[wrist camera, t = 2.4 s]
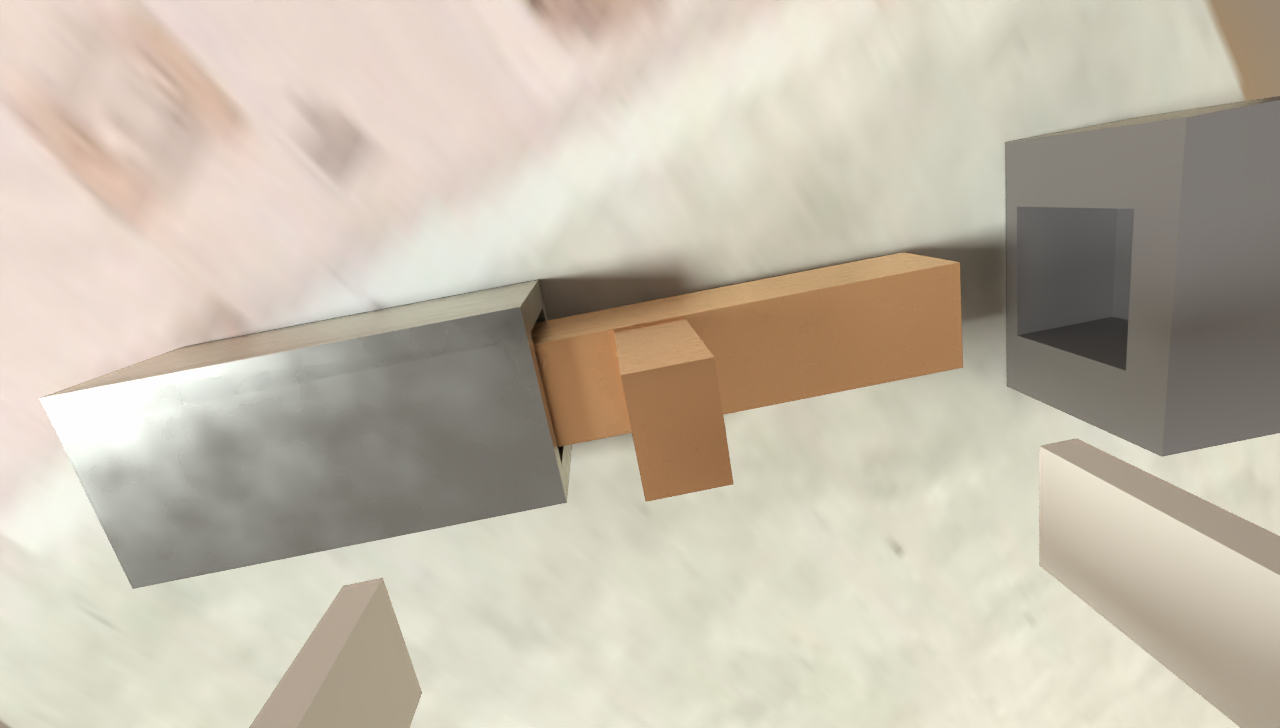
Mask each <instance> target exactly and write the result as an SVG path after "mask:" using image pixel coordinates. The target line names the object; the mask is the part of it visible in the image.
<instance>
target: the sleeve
mask: <svg viewBox="0 0 1280 728" xmlns="http://www.w3.org/2000/svg"><path fill="white" fill-rule="evenodd" d="M547 320H548V318H547V313H546V309H545V305H544V300H543V296H542V291H541V287H540V283H539V279H538V280H533V281H527V282H522V283H517V284H512V285H506V286H501V287H496V288H490V289H485V290H480V291H475V292H469V293H464V294H459V295H454V296H448V297H443V298H438V299H432V300H427V301H422V302H417V303H411V304H406V305H401V306H396V307H390V308H385V309H380V310H374V311H369V312H364V313H359V314H353V315H348V316H343V317H338V318H332V319H327V320H322V321H317V322H311V323H306V324H301V325H295V326H290V327H285V328H280V329H274V330H269V331H264V332H259V333H253V334H248V335H243V336H237V337H232V338H227V339H222V340H216V341H211V342H206V343H201V344H195V345H190V346H185V347H181V348H178V349H175V350H173V351H170V352H167V353H164V354H161V355H159V356H156V357H153V358H150V359H148V360H145V361H142V362H139V363H136V364H134V365H131V366H128V367H125V368H123V369H120V370H117V371H114V372H111V373H109V374H106V375H103V376H100V377H98V378H95V379H92V380H89V381H86V382H84V383H81V384H78V385H75V386H73V387H70V388H67V389H64V390H61V391H59V392H56V393H53V394H50V395H48V396H45V397H42V398H39V399H40V401H41V403H42V405H43V407H44V409H45V411H46V413H47V415H48V417H49V419H50V421H51V423H52V425H53V427H54V429H55V431H56V433H57V435H58V437H59V439H60V441H61V443H62V445H63V447H64V450H65V452H66V454H67V456H68V458H69V460H70V462H71V464H72V466H73V468H74V470H75V472H76V474H77V476H78V478H79V480H80V482H81V484H82V486H83V488H84V490H85V492H86V494H87V496H88V498H89V500H90V503H91V505H92V507H93V509H94V511H95V513H96V515H97V517H98V519H99V521H100V523H101V525H102V527H103V529H104V531H105V533H106V535H107V537H108V539H109V541H110V543H111V545H112V547H113V549H114V551H115V553H116V556H117V558H118V560H119V562H120V564H121V566H122V568H123V570H124V572H125V574H126V576H127V578H128V580H129V582H130V584H131V586H132V588H133V589H134V588H139V587H144V586H149V585H154V584H159V583H164V582H169V581H174V580H179V579H184V578H189V577H194V576H199V575H204V574H209V573H214V572H219V571H225V570H230V569H235V568H240V567H245V566H250V565H255V564H260V563H265V562H270V561H275V560H280V559H285V558H290V557H295V556H300V555H305V554H310V553H315V552H320V551H325V550H330V549H335V548H340V547H345V546H350V545H355V544H360V543H365V542H370V541H376V540H381V539H386V538H391V537H396V536H401V535H406V534H411V533H416V532H421V531H426V530H431V529H436V528H441V527H446V526H451V525H456V524H461V523H466V522H471V521H476V520H481V519H486V518H491V517H496V516H501V515H506V514H511V513H516V512H521V511H527V510H532V509H537V508H542V507H547V506H552V505H557V504H562V503H567V494H568V483H569V472H570V461H571V450H572V444H571V445H566V446H561V447H557V443H556V439H555V434H554V430H553V426H552V422H551V417H550V413H549V409H548V405H547V401H546V396H545V392H544V388H543V384H542V379H541V375H540V371H539V367H538V363H537V358H536V354H535V350H534V346H533V342H532V337H531V331H532V329H533V327H534V325H535V323H536V322H542V321H547Z"/></svg>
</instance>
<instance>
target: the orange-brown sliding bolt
mask: <svg viewBox="0 0 1280 728" xmlns="http://www.w3.org/2000/svg"><path fill="white" fill-rule="evenodd" d="M531 337H532V342H533V346H534V350H535V354H536V358H537V363H538V367H539V371H540V375H541V379H542V384H543V388H544V392H545V396H546V401H547V405H548V409H549V413H550V417H551V422H552V426H553V430H554V434H555V439H556V443H557V447H561V446H566V445H571V444H576V443H581V442H586V441H591V440H596V439H601V438H606V437H611V436H617V435H622V434H627V433H632V435H633V440H634V445H635V450H636V455H637V460H638V465H639V470H640V475H641V481H642V486H643V491H644V496H645V501H652V500H657V499H662V498H667V497H672V496H677V495H682V494H687V493H692V492H697V491H702V490H707V489H712V488H717V487H722V486H727V485H732V484H733V478H732V471H731V465H730V458H729V451H728V445H727V438H726V431H725V425H724V418H723V414H728V413H734V412H739V411H744V410H749V409H754V408H759V407H764V406H769V405H774V404H779V403H784V402H790V401H795V400H800V399H805V398H810V397H815V396H820V395H825V394H830V393H835V392H840V391H846V390H851V389H856V388H861V387H866V386H871V385H876V384H881V383H886V382H891V381H896V380H902V379H907V378H912V377H917V376H922V375H927V374H932V373H937V372H942V371H947V370H952V369H958V368H963V353H962V318H961V283H960V262H956V261H950V260H944V259H939V258H933V257H927V256H921V255H916V254H910V253H904V252H902V253H897V254H892V255H886V256H881V257H876V258H871V259H865V260H860V261H855V262H850V263H845V264H839V265H834V266H829V267H824V268H818V269H813V270H808V271H803V272H798V273H792V274H787V275H782V276H777V277H771V278H766V279H761V280H756V281H751V282H745V283H740V284H735V285H730V286H724V287H719V288H714V289H709V290H704V291H698V292H693V293H688V294H683V295H677V296H672V297H667V298H662V299H657V300H651V301H646V302H641V303H636V304H630V305H625V306H620V307H615V308H610V309H604V310H599V311H594V312H589V313H583V314H578V315H573V316H568V317H562V318H557V319H552V320H547V321H542V322H536V323H535V325H534V327H533V329H532V331H531Z"/></svg>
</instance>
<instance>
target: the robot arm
mask: <svg viewBox="0 0 1280 728" xmlns="http://www.w3.org/2000/svg"><path fill="white" fill-rule="evenodd" d="M1039 565H1040V566H1041V567H1042V568H1043V569H1045V570H1046V571H1047V572H1048V573H1049V574H1051V575H1052V576H1053V577H1054V578H1056V579H1057V580H1058V581H1059V582H1061V583H1062V584H1063V585H1064V586H1066V587H1067V588H1068V589H1069V590H1071V591H1072V592H1073V593H1074V594H1076V595H1077V596H1078V597H1079V598H1080V599H1082V600H1083V601H1084V602H1085V603H1087V604H1088V605H1089V606H1090V607H1092V608H1093V609H1094V610H1095V611H1097V612H1098V613H1099V614H1100V615H1102V616H1103V617H1104V618H1105V619H1106V620H1108V621H1109V622H1110V623H1111V624H1113V625H1114V626H1115V627H1116V628H1118V629H1119V630H1120V631H1121V632H1123V633H1124V634H1125V635H1126V636H1128V637H1129V638H1130V639H1131V640H1133V641H1134V642H1135V643H1136V644H1137V645H1139V646H1140V647H1141V648H1142V649H1144V650H1145V651H1146V652H1147V653H1149V654H1150V655H1151V656H1152V657H1154V658H1155V659H1156V660H1157V661H1159V662H1160V663H1161V664H1162V665H1163V666H1165V667H1166V668H1167V669H1168V670H1170V671H1171V672H1172V673H1173V674H1175V675H1176V676H1177V677H1178V678H1180V679H1181V680H1182V681H1183V682H1185V683H1186V684H1187V685H1188V686H1190V687H1191V688H1192V689H1193V690H1194V691H1196V692H1197V693H1198V694H1199V695H1201V696H1202V697H1203V698H1204V699H1206V700H1207V701H1208V702H1209V703H1211V704H1212V705H1213V706H1214V707H1216V708H1217V709H1218V710H1219V711H1221V712H1222V713H1223V714H1224V715H1225V716H1227V717H1228V718H1229V719H1230V720H1232V721H1233V722H1234V723H1235V724H1237V725H1238V726H1239V727H1240V728H1280V536H1278V535H1276V534H1274V533H1272V532H1270V531H1268V530H1266V529H1264V528H1262V527H1259V526H1257V525H1255V524H1253V523H1251V522H1249V521H1247V520H1245V519H1243V518H1241V517H1239V516H1237V515H1235V514H1232V513H1230V512H1228V511H1226V510H1224V509H1222V508H1220V507H1218V506H1216V505H1214V504H1212V503H1210V502H1207V501H1205V500H1203V499H1201V498H1199V497H1197V496H1195V495H1193V494H1191V493H1189V492H1187V491H1185V490H1183V489H1180V488H1178V487H1176V486H1174V485H1172V484H1170V483H1168V482H1166V481H1164V480H1162V479H1160V478H1158V477H1156V476H1153V475H1151V474H1149V473H1147V472H1145V471H1143V470H1141V469H1139V468H1137V467H1135V466H1133V465H1131V464H1129V463H1126V462H1124V461H1122V460H1120V459H1118V458H1116V457H1114V456H1112V455H1110V454H1108V453H1106V452H1104V451H1102V450H1099V449H1097V448H1095V447H1093V446H1091V445H1089V444H1087V443H1085V442H1083V441H1081V440H1079V439H1072V440H1067V441H1062V442H1057V443H1052V444H1047V445H1042V446H1039ZM421 694H422V691H421V688H420V686H419V683H418V680H417V677H416V674H415V671H414V668H413V665H412V662H411V659H410V656H409V653H408V650H407V648H406V645H405V642H404V639H403V636H402V633H401V630H400V627H399V624H398V621H397V618H396V615H395V613H394V610H393V607H392V604H391V601H390V598H389V595H388V592H387V589H386V586H385V583H384V580H383V578H380V579H375V580H370V581H365V582H360V583H355V584H350V585H345V586H343V587H342V589H341V590H340V592H339V593H338V595H337V596H336V598H335V599H334V601H333V602H332V604H331V605H330V607H329V608H328V610H327V611H326V613H325V614H324V616H323V617H322V619H321V620H320V622H319V623H318V625H317V626H316V628H315V629H314V631H313V632H312V634H311V635H310V637H309V638H308V640H307V641H306V643H305V644H304V646H303V647H302V649H301V650H300V652H299V653H298V655H297V656H296V658H295V659H294V661H293V662H292V664H291V666H290V667H289V669H288V670H287V672H286V673H285V675H284V676H283V678H282V679H281V681H280V682H279V684H278V685H277V687H276V688H275V690H274V691H273V693H272V694H271V696H270V697H269V699H268V700H267V702H266V703H265V705H264V706H263V708H262V709H261V711H260V712H259V714H258V715H257V717H256V718H255V720H254V721H253V723H252V724H251V726H250V727H249V728H410V725H411V722H412V719H413V716H414V714H415V711H416V708H417V705H418V702H419V699H420V697H421Z"/></svg>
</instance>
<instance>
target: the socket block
mask: <svg viewBox="0 0 1280 728" xmlns="http://www.w3.org/2000/svg"><path fill="white" fill-rule="evenodd" d="M1005 166H1006V316H1007V386H1008V387H1010V388H1012V389H1014V390H1017V391H1019V392H1021V393H1023V394H1025V395H1028V396H1030V397H1032V398H1034V399H1036V400H1039V401H1041V402H1043V403H1045V404H1047V405H1050V406H1052V407H1054V408H1056V409H1058V410H1061V411H1063V412H1065V413H1067V414H1069V415H1072V416H1074V417H1076V418H1078V419H1080V420H1083V421H1085V422H1087V423H1089V424H1091V425H1094V426H1096V427H1098V428H1100V429H1102V430H1105V431H1107V432H1109V433H1111V434H1114V435H1116V436H1118V437H1120V438H1122V439H1125V440H1127V441H1129V442H1131V443H1133V444H1136V445H1138V446H1140V447H1142V448H1144V449H1147V450H1149V451H1151V452H1153V453H1155V454H1158V455H1160V456H1167V455H1172V454H1177V453H1182V452H1187V451H1192V450H1197V449H1202V448H1207V447H1212V446H1217V445H1222V444H1227V443H1232V442H1236V441H1241V440H1246V439H1251V438H1256V437H1261V436H1266V435H1271V434H1276V433H1280V96H1277V97H1270V98H1264V99H1257V100H1250V101H1244V102H1237V103H1230V104H1223V105H1217V106H1210V107H1203V108H1197V109H1190V110H1183V111H1177V112H1170V113H1163V114H1157V115H1150V116H1143V117H1137V118H1131V119H1126V120H1121V121H1115V122H1110V123H1105V124H1099V125H1094V126H1089V127H1083V128H1078V129H1073V130H1067V131H1062V132H1057V133H1051V134H1046V135H1041V136H1036V137H1030V138H1025V139H1020V140H1014V141H1009V142H1005Z"/></svg>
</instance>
